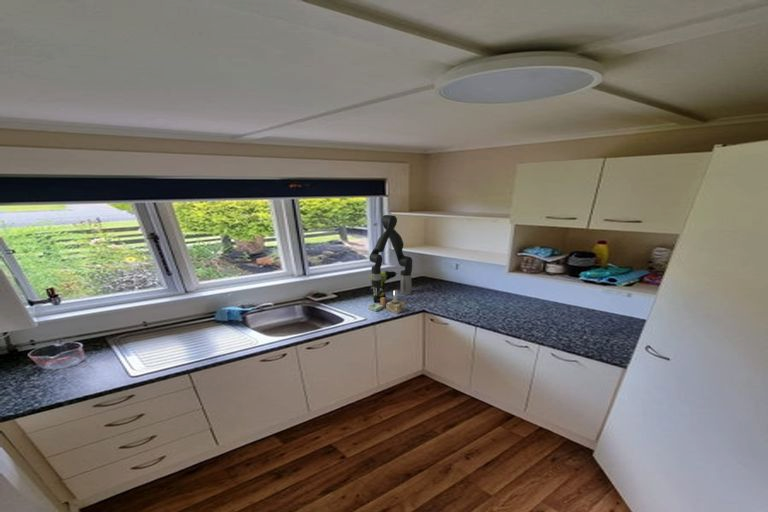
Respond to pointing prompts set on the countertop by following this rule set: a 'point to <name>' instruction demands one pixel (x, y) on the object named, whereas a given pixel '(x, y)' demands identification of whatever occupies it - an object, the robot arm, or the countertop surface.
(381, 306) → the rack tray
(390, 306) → the socket block
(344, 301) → the countertop surface
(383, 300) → the drift key
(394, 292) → the steel bit
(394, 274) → the cordless drill
